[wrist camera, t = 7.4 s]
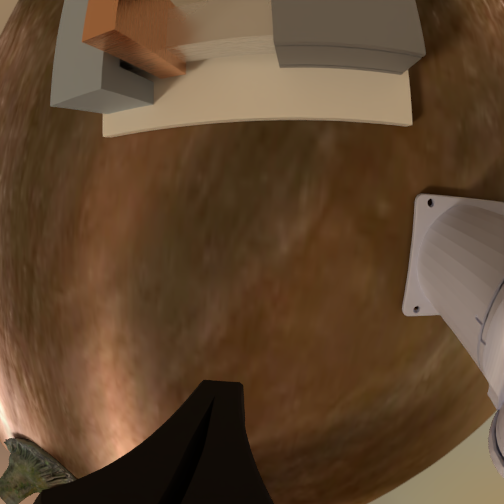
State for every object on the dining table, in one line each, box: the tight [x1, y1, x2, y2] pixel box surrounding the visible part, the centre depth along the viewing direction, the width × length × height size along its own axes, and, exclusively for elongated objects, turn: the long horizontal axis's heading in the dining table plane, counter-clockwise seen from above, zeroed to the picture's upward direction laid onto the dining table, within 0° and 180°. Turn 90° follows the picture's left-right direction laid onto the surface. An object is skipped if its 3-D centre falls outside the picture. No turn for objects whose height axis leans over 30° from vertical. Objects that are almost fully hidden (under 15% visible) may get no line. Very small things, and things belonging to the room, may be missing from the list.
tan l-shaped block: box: [82, 0, 276, 79], centre depth 11 cm, size 12×4×8 cm, turn 92°
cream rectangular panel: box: [103, 0, 426, 137], centre depth 13 cm, size 19×10×5 cm, turn 92°
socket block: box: [50, 0, 154, 114], centre depth 13 cm, size 4×7×6 cm, turn 2°
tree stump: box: [0, 438, 76, 504], centre depth 34 cm, size 18×20×18 cm
